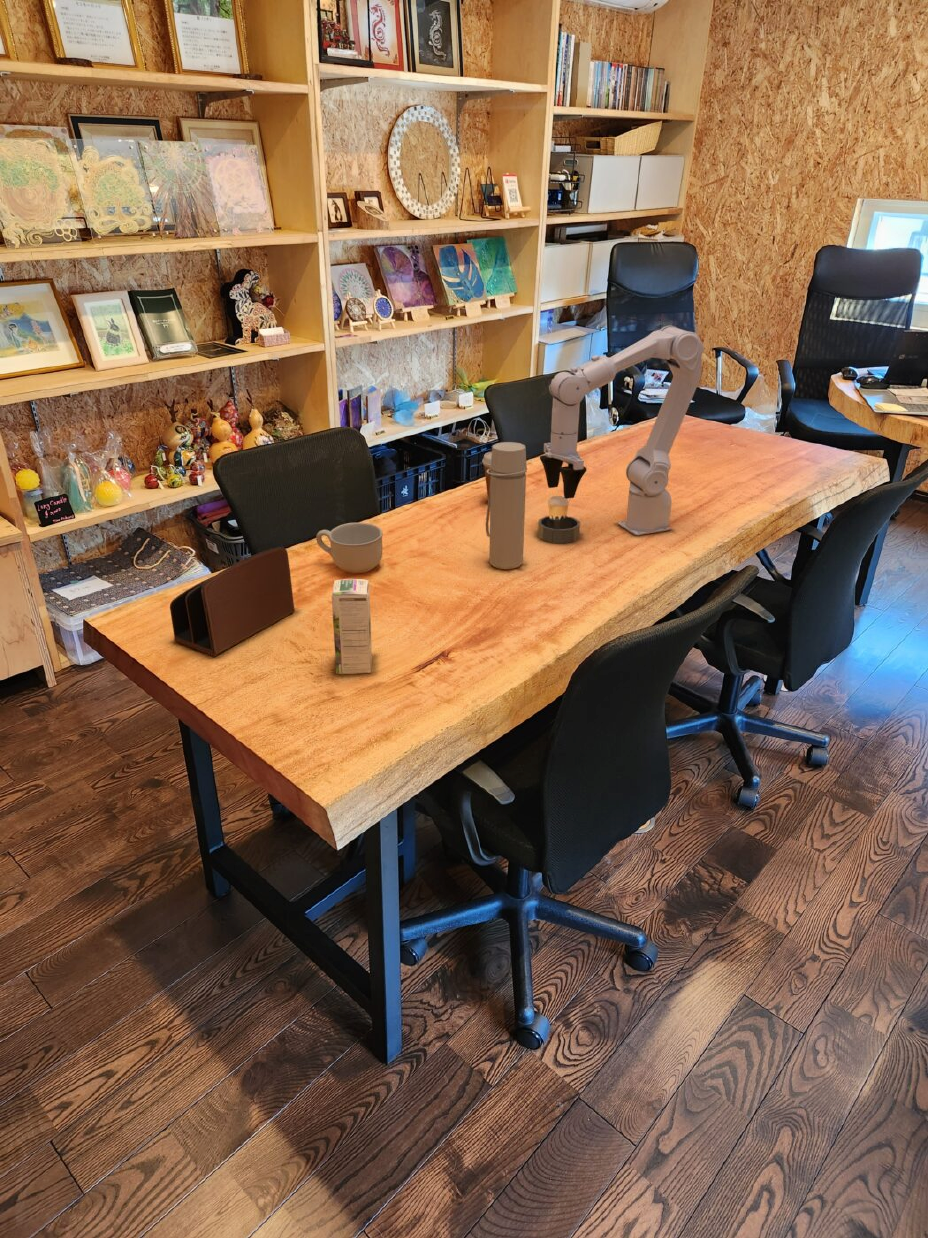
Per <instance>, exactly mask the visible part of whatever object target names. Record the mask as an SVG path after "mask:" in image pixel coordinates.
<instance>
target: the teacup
mask: <svg viewBox="0 0 928 1238" xmlns="http://www.w3.org/2000/svg"><path fill="white" fill-rule="evenodd" d="M323 536H326V537H327V539H328V540H329V543H330V546H328V545H327V544H326V543H325V542H324V541H323V538H322V537H323ZM315 540H316V543H317V546H318V547H319V548H320V549H322V551H324V552H325V553H327V554H329V555H330V557H331V559H332V561H333V563H334V565H336V567H338V568H339V569H340V570H342V571H343V572H346V573H349V574H355V575H356V574H364V573H365V574H366V573H367V572H368V573H369V572H370V571H372V570H373V569H374V568H375V567H377V566H378V565H379V563H380V562H381V561H382V559H383V558H382V557H383V529H382V528H380V527H379V526H377V525H376V524H373V523H368V522H348V523H343V524H339V525H338V526H336V527H334V528H332V529H331V530H328V529H322V530H319V531H318V532H317V534H316V537H315Z"/></svg>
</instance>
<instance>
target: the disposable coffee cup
mask: <svg viewBox="0 0 928 1238" xmlns="http://www.w3.org/2000/svg"><path fill="white" fill-rule="evenodd" d="M491 457H492V451H488V452H485V454H484V455H483V459H482V464H483V467H484V468H483V469H484V477H485V487H486V494H487V499H488V498H489V489H490V479H491V475H490V474H488V473H487V472H486V471H487V470H488V469H490V468H489V467H490V466H491ZM488 472H489V473H490V471H488Z"/></svg>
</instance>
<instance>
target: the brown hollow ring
mask: <svg viewBox="0 0 928 1238" xmlns="http://www.w3.org/2000/svg"><path fill="white" fill-rule="evenodd" d="M580 526H581V522H580V520H578V519H577V518H575V517H572V516H569V515H567V517H566V525H565V529H552V528H549V515H546V516H542V518H540V519H538V526H537V537H538V538H539V539H540V540H542V541H543V542H546V543H550V544H559V545H561V544H563V545H564V544H570V543H574V542H576V541H578V540H580V528H581V527H580Z"/></svg>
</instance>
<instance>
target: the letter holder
mask: <svg viewBox="0 0 928 1238" xmlns="http://www.w3.org/2000/svg"><path fill="white" fill-rule="evenodd" d="M295 609H296V608H295V602H294V594H293V585H292V576H291V567H290V559H289V552H288V550H287V549H286V548H285V547H284V546H277V547H274V548H270V549H267V550H264V551H261V552H258V553H256V554H254V555H251V556H248V557H246V558H244V559H242V560H239V561H237V562H236V563H233V564H232V565H230V566H228V567H227V568H225V569H223V570H221V571H220V572H218V573H216V574H215V575H213V576H211V577H208V578H206V579H205V580H203V581H200V582H199V583H197V584H195V585H194V586H192V587H190V588H188V589H186V590H185V591H183V592H182V593H181V594H179V595H177V596H176V597H175V598H173V599H172V600H171V602H170V604H169V611H170V619H171V623H172V630H173V637H174V638H173V639H174V641H175V642H176V643H178V644H181V645H183V646H187V647H189V648H191V649H194V650H196V651H199V652H202V653H205V654H208V655H210V656H212V657H217V656H218V655H219V654H221V653H223V652H226V651H227V650H228V649H230V648H232V647H234V646H236V645H237V644H240V643H241V642H243V641H244V640H246V639H248V638H250V637H251V636H254V635H256V634H258V633H259V632H261V631H263V630H264V629H266V628H268V627H270V626H272V625H273V624H275V623H277V622H279V621H281V620H283V619H284V618H286V617H287V616H290V615H291V614H293V613H295Z"/></svg>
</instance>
